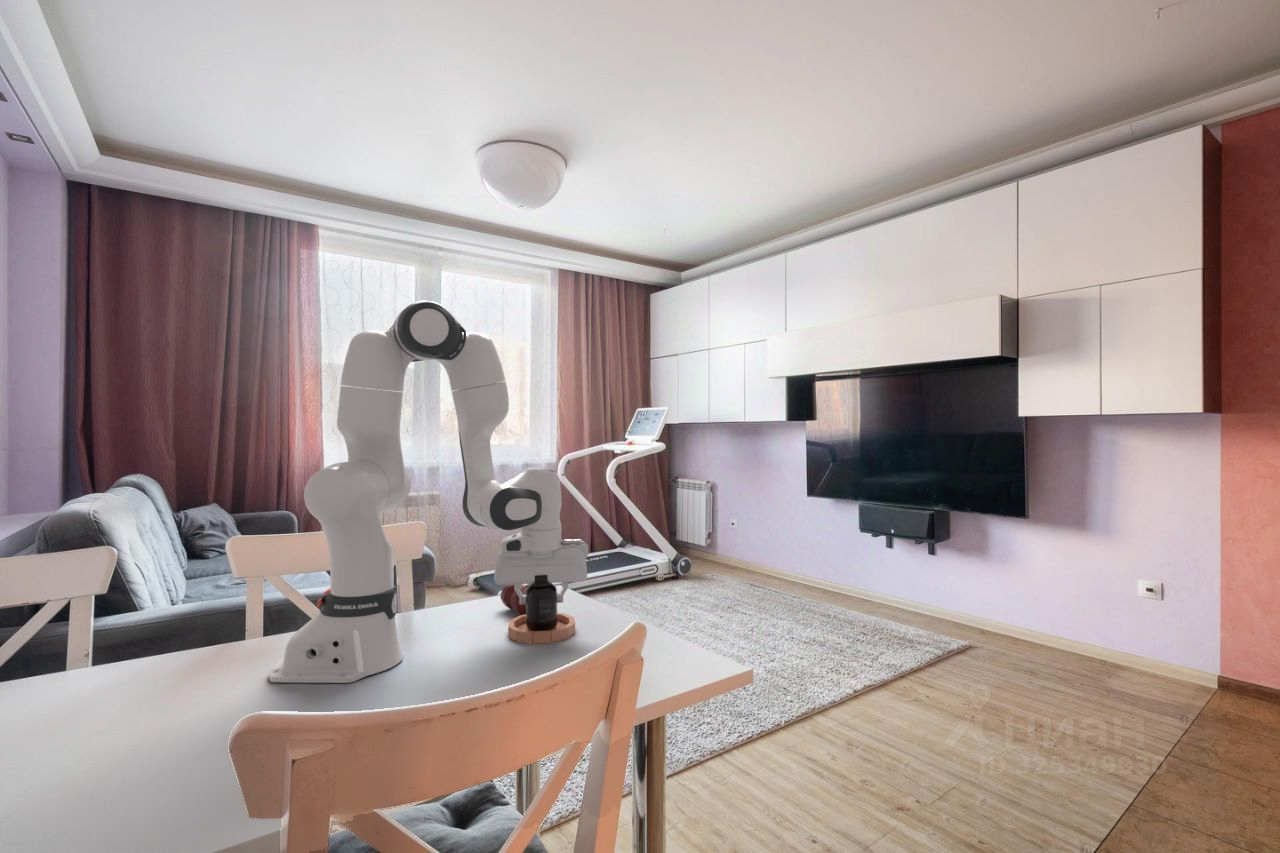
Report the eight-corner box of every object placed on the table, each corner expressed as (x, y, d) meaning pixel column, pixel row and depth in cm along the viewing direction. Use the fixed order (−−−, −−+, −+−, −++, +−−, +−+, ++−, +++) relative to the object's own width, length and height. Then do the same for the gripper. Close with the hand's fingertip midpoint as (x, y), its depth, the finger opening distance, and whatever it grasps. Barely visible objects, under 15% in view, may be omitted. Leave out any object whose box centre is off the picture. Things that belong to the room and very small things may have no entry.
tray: (506, 645, 125) (506, 635, 125) (510, 623, 139) (510, 613, 139) (576, 641, 127) (576, 630, 127) (572, 619, 142) (572, 610, 142)
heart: (534, 598, 157) (498, 610, 151) (530, 570, 156) (494, 581, 150) (556, 611, 147) (519, 624, 141) (553, 580, 146) (515, 592, 140)
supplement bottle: (560, 622, 136) (560, 569, 136) (553, 633, 130) (553, 577, 130) (530, 622, 137) (530, 569, 137) (522, 632, 130) (521, 576, 130)
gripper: (587, 536, 138) (587, 596, 138) (495, 539, 135) (495, 601, 135) (589, 541, 132) (589, 604, 132) (493, 544, 129) (493, 609, 129)
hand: (541, 602), depth 133 cm, fingers closed on supplement bottle, 7 cm apart
